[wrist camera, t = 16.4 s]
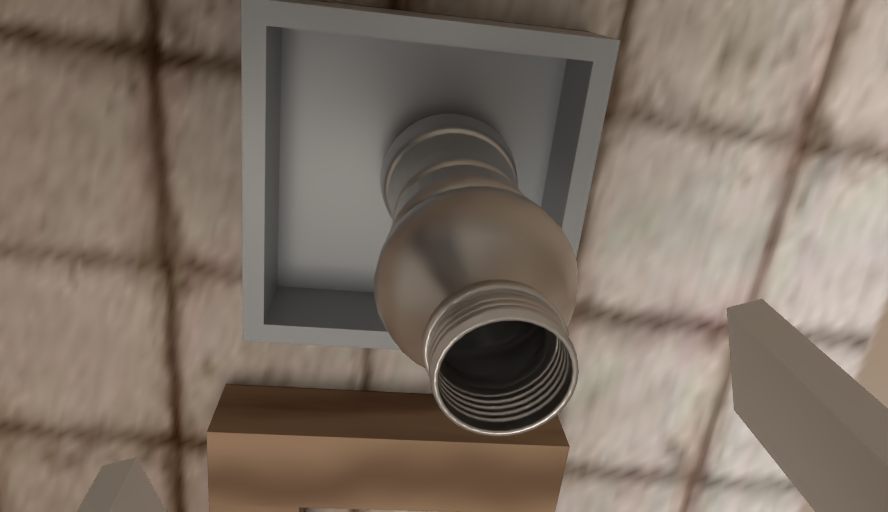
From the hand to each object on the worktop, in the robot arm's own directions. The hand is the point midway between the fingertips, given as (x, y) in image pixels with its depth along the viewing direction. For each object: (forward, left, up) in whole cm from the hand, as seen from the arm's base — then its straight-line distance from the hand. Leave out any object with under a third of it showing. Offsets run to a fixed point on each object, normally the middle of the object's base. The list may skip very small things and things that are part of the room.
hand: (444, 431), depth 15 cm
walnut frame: (+24, 0, -23) cm, 33 cm away
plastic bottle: (0, +2, -22) cm, 22 cm away
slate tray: (0, 0, -23) cm, 23 cm away
